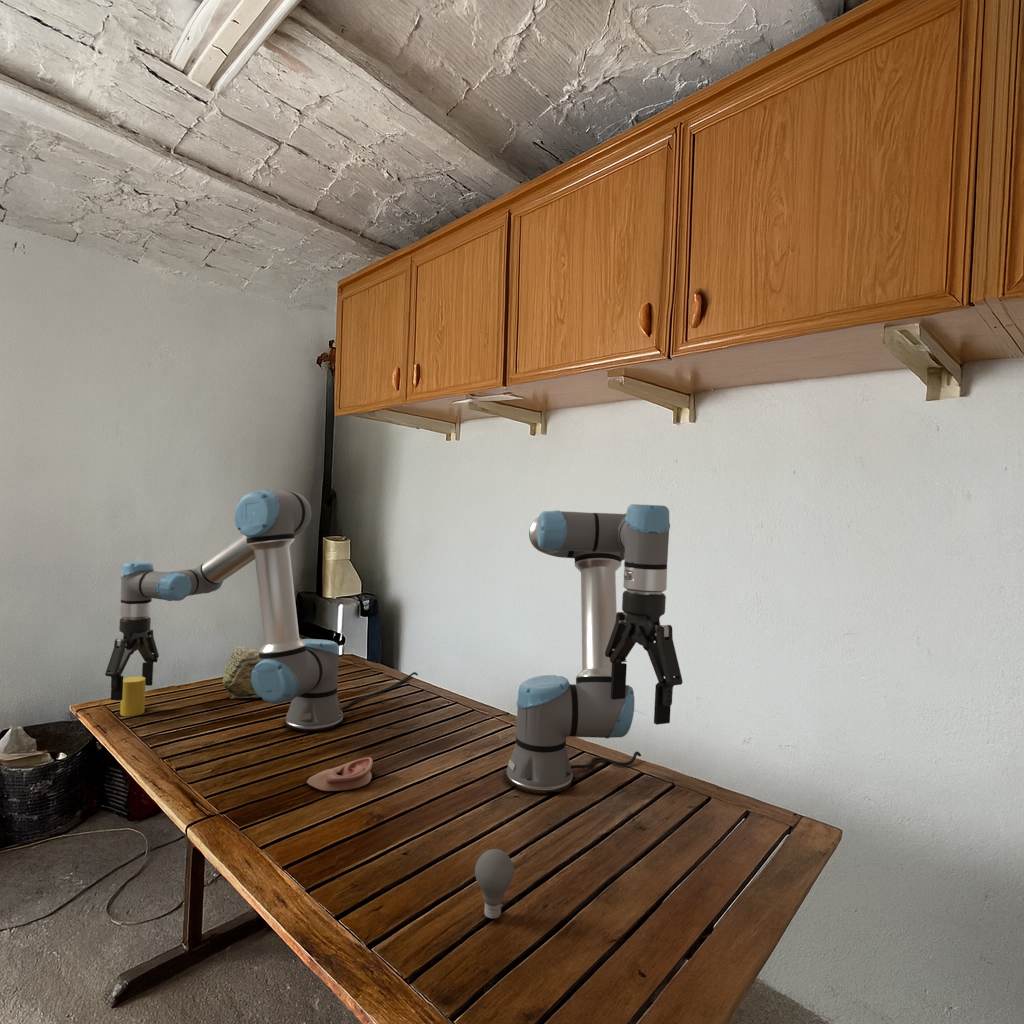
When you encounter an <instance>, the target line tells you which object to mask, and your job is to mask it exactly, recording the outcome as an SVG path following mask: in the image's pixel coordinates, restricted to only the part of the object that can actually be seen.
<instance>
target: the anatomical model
mask: <svg viewBox="0 0 1024 1024" xmlns="http://www.w3.org/2000/svg"><path fill="white" fill-rule="evenodd" d="M373 763H374V761H373V758H372V757H370V756H368V757H362V758H359V759H356V760H352V761H350V762H346V763H344V764H341V765H339V766H336V767H332V768H328V769H325V770H322V771H319V772H317V773H315V774H314V775H311V777H309V778H308V779H306V784H308V786H311V787H313V788H314V789H317V790H319V791H322V792H338V791H348V790H353V789H357V788H360V787H364V786H366V785H367V784H369V783H370V782H371V780H372V779H373V774H372V772H371V770H372V767H373Z"/></svg>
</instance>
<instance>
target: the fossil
mask: <svg viewBox="0 0 1024 1024" xmlns="http://www.w3.org/2000/svg"><path fill="white" fill-rule="evenodd" d="M260 649H261V647H258V648H251V647H247V646H246V647H245V646H238V647H237V648H236V649H235V650H233V651H232V653H231V656H230V657H229V659H228V660H227V663H226V666H225V668H224V671H223V675H222V676H223V677H222V685H223V687H224V688H225V690H226V691H228V693H229V698H230V699H250V698H260V697H259V696H258V695H257V693H256V692H255V690H254V688H253V685H252V680H251V676H252V671H253V670H254V669H255V666H256V665H257V664H258V663H259V662H260V661H259V650H260Z"/></svg>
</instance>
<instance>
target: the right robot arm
mask: <svg viewBox="0 0 1024 1024" xmlns="http://www.w3.org/2000/svg"><path fill="white" fill-rule="evenodd" d="M670 529H671V523H670V509H669V508H668V506H666V505H660V504H658V505H657V504H637V503H636V504H635V503H634V504H633V503H632V504H629V505H628V506H627V509H626V513H610V512H606V513H605V512H583V511H582V512H581V511H564V510H543V511H541V512H540V513H539V515H538V517H536V518H535V519H534V520H533V521H532V523H531V524H530V526H529V530H528V537H529V541H530V544H531V545H532V547H534V548H535V549H536V550H537V551H539V552H540V553H543V554H544V555H548V556H552V557H555V558H556V557H557V558H563V559H574V567H575V568H576V569H577V570H578V571H579V572H580V597H581V599H580V601H581V607H580V608H581V671H580V672H579V673H578V674H577V675H576V676H575V683H574V684H571V683H570V681H569V679H568V678H567V677H565V676H562V675H555V674H549V675H545V674H544V675H538V676H534V677H530V678H528V679H526V680H524V681H523V682H522V683H520V685H519V688H518V691H517V700H516V707H517V708H516V709H517V710H516V711H517V712H516V730H515V744H514V745H515V746H514V748H513V751H512V753H511V755H510V758H509V761H508V763H507V767H506V774H505V777H506V781H507V783H508V784H509V785H510V786H511V787H513V788H514V789H516V790H519V791H522V792H525V793H528V794H535V795H552V794H558V793H561V792H564V791H566V790H567V789H569V788H570V787H571V786H572V784H573V771H572V770H574V769H588V768H591V767H592V766H593V764H594V762H596V761H600V762H601V761H602V762H606V763H610V764H612V765H617V766H621V767H626V766H630V765H632V764H633V763H634V762H635V760H636V758H637V756H638V757H642V754H641V753H640V752H639V751H635V752H634V753H633V755H632V757H631V759H630V760H628V761H625V762H624V761H623V762H622V761H616V760H613V759H610V758H607V757H604V756H603V757H602V756H596V757H593V758H591V759H590V761H589V762H588V763H587V764H571V762H570V758H569V755H568V751H567V738H569V737H570V738H596V739H597V738H600V739H601V738H602V739H611V738H624V737H625V736H627V735H628V733H629V732H630V730H631V727H632V725H633V724H632V723H633V720H634V714H635V713H634V712H635V691H634V689H633V686H631V685H629V684H627V667H628V665H627V664H628V663H627V662H628V661H627V657H628V656H629V654H630V653H631V652H632V650H633V648H634V646H635V645H636V643H637V644H638V645H640V646H642V648H643V649H644V651H646V652H647V655H648V658H649V660H650V663H651V665H652V668H653V671H654V673H655V676H656V679H657V683H656V684H655V690H654V692H655V693H654V712H653V724H655V725H658V726H659V725H665V724H670V723H671V707H672V704H673V692H674V691H673V689H674V686H680V685H683V681H684V680H683V677H682V673H681V668H680V665H679V664H680V663H679V660H678V656H677V652H676V648H675V643H674V639H673V636H674V635H673V626H672V625H671V624H662V625H661V620H660V618H661V617H662V616H664V615H665V613H666V600H667V595H666V594H665V593H664V592H666V591H667V587H668V586H667V585H668V558H669V541H670V539H669V538H670ZM622 562H624V563H623V567H624V568H623V585H622V586H623V588H624V589H625V590H624V591H623V592H622V601H621V610H622V611H618V608H617V579H616V575H617V574H616V572H617V571H618V570H619V569H620V568H621V567H622Z"/></svg>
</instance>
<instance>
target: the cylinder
mask: <svg viewBox="0 0 1024 1024" xmlns="http://www.w3.org/2000/svg"><path fill="white" fill-rule="evenodd" d="M119 705H120V708H119V715H120V716H122V717H135V716H136V717H137V716H140V715H143V714H144V713H145V707H146V685H145V677H142V675H141V676H140V675H138V676H137V675H136V676H129V677H125V678H124V677H123V697H122V700H121V701H120V704H119Z"/></svg>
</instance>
